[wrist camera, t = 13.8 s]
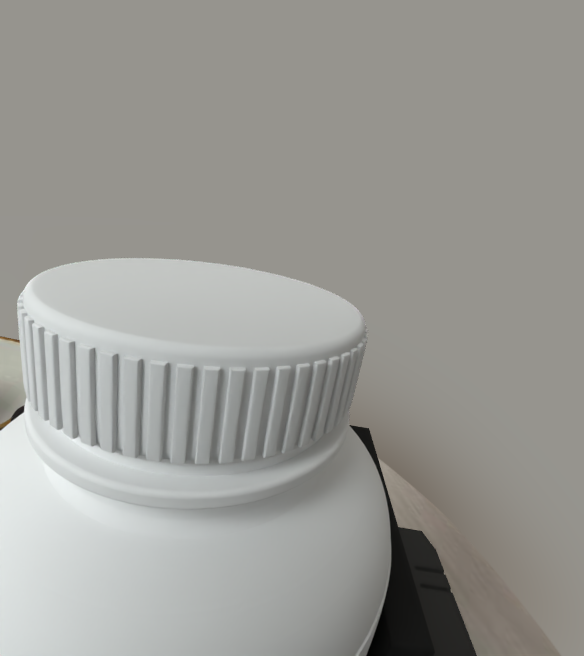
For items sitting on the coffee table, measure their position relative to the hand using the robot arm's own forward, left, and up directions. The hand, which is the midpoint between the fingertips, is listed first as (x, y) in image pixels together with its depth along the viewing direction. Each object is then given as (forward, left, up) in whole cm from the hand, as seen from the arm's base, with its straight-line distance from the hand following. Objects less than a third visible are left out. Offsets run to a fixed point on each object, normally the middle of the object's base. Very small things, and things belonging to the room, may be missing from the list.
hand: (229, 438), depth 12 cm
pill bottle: (-3, +4, -9) cm, 10 cm away
